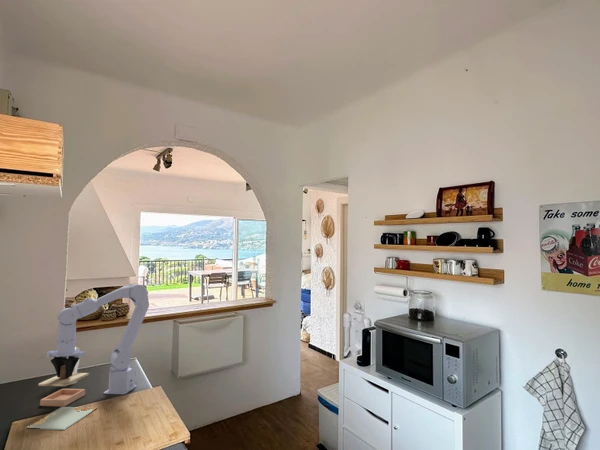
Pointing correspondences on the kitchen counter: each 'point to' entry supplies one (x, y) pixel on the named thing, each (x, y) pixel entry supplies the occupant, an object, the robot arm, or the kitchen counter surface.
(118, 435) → the kitchen counter surface
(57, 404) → the dish
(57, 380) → the lid
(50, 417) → the mat
